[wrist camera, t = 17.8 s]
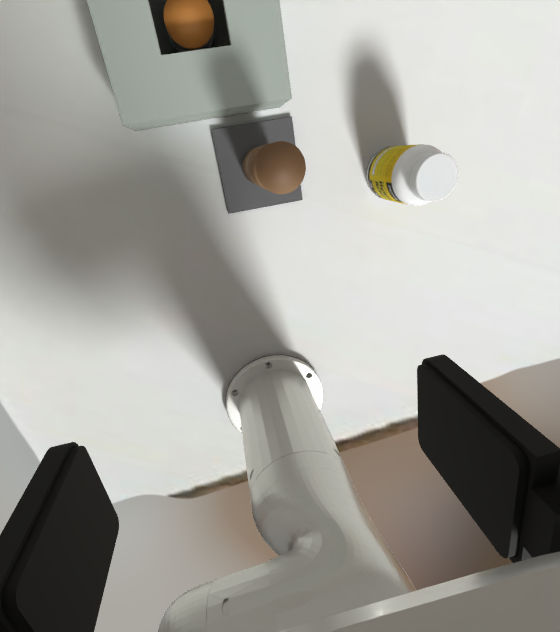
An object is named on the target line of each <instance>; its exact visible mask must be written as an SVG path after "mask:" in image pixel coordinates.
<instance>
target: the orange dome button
mask: <svg viewBox="0 0 560 632" xmlns="http://www.w3.org/2000/svg"><path fill="white" fill-rule="evenodd" d="M164 22H165V25H166V29H167V32H168V35H169V38H170V40H171V42H172V44H173V46H174V47H175V48H176V49H177V50H178V51H179V52H187V51H194V50H201V49H208V48H210V47H211V45H212V42H213V37H214V15H213V11H212V8H211V6H210V4H209V2H208V1H207V0H167V1H166V3H165V6H164Z"/></svg>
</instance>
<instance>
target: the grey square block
mask: <svg viewBox="0 0 560 632" xmlns="http://www.w3.org/2000/svg"><path fill="white" fill-rule="evenodd" d="M87 3H88V7H89V10H90V14H91V17H92V21H93V24H94V27H95V31H96V34H97V38H98V41H99V45H100V48H101V52H102V55H103V58H104V62H105V65H106V69H107V72H108V76H109V79H110V83H111V86H112V90H113V93H114V96H115V100H116V103H117V107H118V110H119V114H120V117H121V121H122V124H123V125H124V126H126V127H129V128H131V129H133V130H143V129H149V128H155V127H161V126H167V125H174V124H180V123H186V122H192V121H198V120H205V119H211V118H217V117H223V116H229V115H236V114H242V113H248V112H254V111H260V110H267V109H273V108H279V107H281V106H282V105H283V104H285V103H286V102H287V101H289V100H290V99H291V98H292V96H291V88H290V80H289V72H288V65H287V57H286V49H285V41H284V33H283V25H282V17H281V9H280V2H279V0H223V6H224V12H225V17H226V23H227V29H228V34H229V40H230V45H229V46H222V47H215V48H208V49H201V50H194V51H187V52H180V53H173V54H166V55H161V51H160V46H159V42H158V38H157V34H156V30H155V25H154V21H153V17H152V13H151V9H150V4H149V0H87Z"/></svg>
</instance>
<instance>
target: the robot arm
mask: <svg viewBox="0 0 560 632" xmlns="http://www.w3.org/2000/svg"><path fill="white" fill-rule="evenodd" d="M268 362H269V363H268ZM417 385H418V439H419V444H420V446H421V448H422V450H423V452H424V453H425V454H426V456H427V457H428V458H429V460H430V461H431V462H432V464H433V465H434V466H435V468H436V469H437V471H438V472H439V473H440V475H441V476H442V477H443V479H444V480H445V481H446V483H447V484H448V485H449V487H450V488H451V490H452V491H453V492H454V494H455V495H456V496H457V498H458V499H459V500H460V501H461V503H462V504H463V506H464V507H465V508H466V510H467V511H468V512H469V514H470V515H471V516H472V518H473V519H474V521H475V522H476V523H477V525H478V526H479V527H480V529H481V530H482V531H483V533H484V534H485V535H486V537H487V538H488V539H489V541H490V542H491V544H492V545H493V546H494V547H495V549H496V550H497V552H498V553H499V554H500V555H501V556H502V557H503V558H510V560H511V561H512V562H513V563H512V564H509V565H504V566H501V567H497V568H493V569H490V570H486V571H483V572H479V573H475V574H472V575H468V576H465V577H461V578H458V579H455V580H451V581H448V582H444V583H441V584H438V585H434V586H431V587H427V588H424V589H420V590H417V591H416V589H415V587H414V586H413V584H412V582H411V581H410V579H409V577H408V576H407V574H406V572H405V571H404V569H403V568H402V566H401V565H400V563H399V562H398V560H397V559H396V557H395V556H394V554H393V553H392V551H391V550H390V548H389V547H388V546H387V544H386V542H385V541H384V539H383V538H382V536H381V535H380V533H379V532H378V530H377V529H376V527H375V525H374V524H373V522H372V520H371V519H370V517H369V515H368V513H367V511H366V509H365V507H364V505H363V503H362V501H361V499H360V497H359V495H358V493H357V491H356V489H355V487H354V485H353V482H352V480H351V478H350V476H349V474H348V471H347V469H346V467H345V465H344V462H343V460H342V458H341V456H340V453H339V451H338V449H337V447H336V444H335V442H334V440H333V438H332V436H331V433H330V431H329V429H328V427H327V424H326V422H325V420H324V418H323V416H322V413H321V411H320V408H321V406H322V401H323V389H322V385H321V382H320V380H319V378H318V376H317V374H316V373H315V371H314V370H313V369H312V368H311V367H310V366H309V365H308V364H307V363H305V362H303V361H302V360H300V359H297V358H294V357H291V356H285V355H273V356H267V357H263V358H260V359H257V360H255V361H253V362H251V363H250V364H248V365H246V366H245V367H244V368H243V369H241V370H240V371H239V372H238V373H237V375H236V376H235V377H234V378H233V380H232V382H231V383H230V385H229V388H228V391H227V397H226V407H227V413H228V416H229V419H230V420H231V422H232V424H233V425H234V426H235V427H236V429H237V430H238V431H240V432H241V433H242V435H243V443H244V451H245V459H246V467H247V475H248V483H249V491H250V499H251V507H252V514H253V519H254V521H255V524H256V527H257V529H258V531H259V533H260V534H261V536H262V538H263V539H264V541H265V542H266V543H267V544H268V545H269V546H270V548H271V549H272V550H273V551H274V552H275V553H276V554H278V555H279V556H278V557H276V558H273V559H270V561H268V562H265V563H262V564H259V565H257V566H254V567H251V568H248V569H245V570H242V571H239V572H236V573H234V574H230V575H228V576H225V577H222V578H219V579H216V580H213V581H210V582H207V583H205V584H202V585H200V586H198V587H195V588H193V589H191V590H189V591H187V592H185V593H184V594H182V595H181V596H179V597H178V598H177V599H176V600H175V601H174V602H173V603H172V604H171V605H170V607H169V608H168V609H167V611H166V612H165V614H164V616H163V618H162V620H161V623H160V626H159V630H158V632H560V448H559V447H557V446H556V445H555V444H554V443H552V442H551V441H550V440H549V439H548V438H546V437H545V436H544V435H543V434H541V433H540V432H539V431H538V430H537V429H535V428H534V427H533V426H532V425H530V424H529V423H528V422H527V421H526V420H524V419H523V418H522V417H521V416H519V415H518V414H517V413H516V412H514V411H513V410H512V409H511V408H509V407H508V406H507V405H506V404H505V403H503V402H502V401H501V400H500V399H499V398H497V397H496V396H495V395H494V394H492V393H491V392H490V391H489V390H487V389H486V388H485V387H484V386H483V385H481V384H480V383H479V382H478V381H477V380H475V379H474V378H473V377H472V376H470V375H469V374H468V373H467V372H466V371H464V370H463V369H462V368H461V367H459V366H458V365H457V364H456V363H454V362H453V361H452V360H451V359H450V358H448V357H447V356H445V355H439V356H435V357H430V358H426V359H424V360H423V362H422V365H419V366H418V368H417ZM118 530H119V521H118V516H117V514H116V512H115V510H114V508H113V505H112V503H111V501H110V499H109V497H108V495H107V492H106V490H105V488H104V486H103V484H102V482H101V480H100V477H99V475H98V473H97V471H96V469H95V467H94V465H93V462H92V460H91V458H90V456H89V454H88V452H87V450H86V448H85V447H84V446H78V444H77V443H75V442H71V443H67V444H63V445H59V446H54V447H51V448H49V449H48V451H47V452H46V454H45V456H44V458H43V459H42V461H41V463H40V465H39V467H38V468H37V470H36V472H35V474H34V476H33V478H32V479H31V481H30V483H29V485H28V486H27V488H26V490H25V492H24V494H23V495H22V497H21V499H20V501H19V502H18V504H17V506H16V508H15V510H14V512H13V513H12V515H11V517H10V519H9V521H8V522H7V524H6V526H5V528H4V530H3V531H2V533H1V535H0V632H94V629H95V625H96V621H97V617H98V612H99V608H100V604H101V600H102V596H103V592H104V588H105V584H106V580H107V576H108V571H109V567H110V563H111V559H112V555H113V551H114V547H115V542H116V539H117V535H118Z"/></svg>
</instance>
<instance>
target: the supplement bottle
mask: <svg viewBox="0 0 560 632" xmlns="http://www.w3.org/2000/svg"><path fill="white" fill-rule="evenodd" d="M457 179H458V167H457V164H456V162H455V160H454V159H453V158H452V157H451V156H450V155H448V154H445V153H442V152H441V151H440V150H438V149H437V148H435V147H433V146H430V145H405V146H391V147H386V148H384V149H382V150H380V151H379V152H377V153H376V154H375V155H374V157H373V158H372V159H371V161H370V163H369V166H368V169H367V183H368V186H369V188H370V190H371V191H372V192H373V193H374V194H375V195H376V196H378V197H380V198H383V199H386V200H391V201H395V202H399V203H403V204H407V205H412V206H420V205H424V204H427V203H429V202H435V201H439V200H442V199H444V198H445V197H447V196H448V195H449V194H450V193H451V192H452V190H453V189H454V187H455V185H456V183H457Z"/></svg>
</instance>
